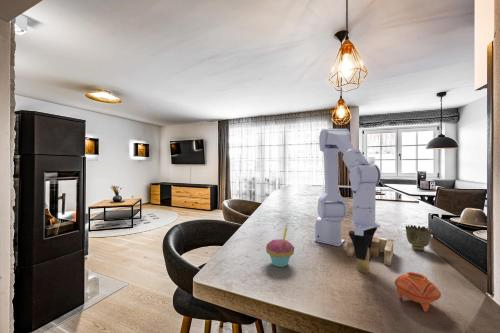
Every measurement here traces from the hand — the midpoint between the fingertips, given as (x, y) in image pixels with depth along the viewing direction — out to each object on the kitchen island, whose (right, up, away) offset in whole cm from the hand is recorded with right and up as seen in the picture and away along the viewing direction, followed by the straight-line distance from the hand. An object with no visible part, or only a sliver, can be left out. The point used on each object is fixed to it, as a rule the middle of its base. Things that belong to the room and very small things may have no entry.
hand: (363, 254), depth 62 cm
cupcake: (-23, -5, +4) cm, 24 cm away
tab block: (+5, -5, +6) cm, 9 cm away
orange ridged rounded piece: (+4, -5, -14) cm, 16 cm away
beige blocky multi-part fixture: (+8, -5, +11) cm, 15 cm away
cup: (+28, -5, +15) cm, 32 cm away
